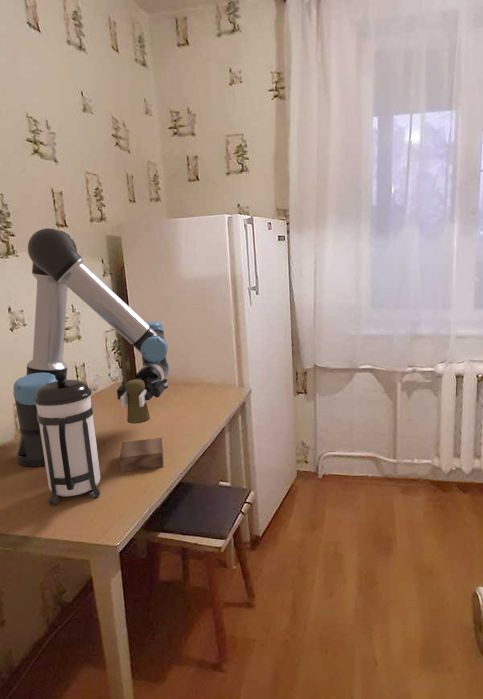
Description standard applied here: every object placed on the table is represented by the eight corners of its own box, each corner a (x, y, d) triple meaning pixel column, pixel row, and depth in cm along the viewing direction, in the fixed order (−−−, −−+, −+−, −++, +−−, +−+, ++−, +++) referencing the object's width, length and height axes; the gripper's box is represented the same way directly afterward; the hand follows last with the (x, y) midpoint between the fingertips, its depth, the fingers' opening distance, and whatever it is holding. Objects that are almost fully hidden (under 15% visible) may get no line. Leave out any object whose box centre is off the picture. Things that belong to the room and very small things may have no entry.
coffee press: (26, 499, 120) (7, 378, 114) (82, 473, 133) (67, 362, 127) (72, 518, 110) (53, 386, 104) (127, 487, 123) (113, 368, 117)
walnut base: (120, 471, 132) (119, 457, 131) (123, 455, 142) (122, 442, 142) (163, 466, 133) (161, 452, 133) (163, 450, 144) (161, 437, 143)
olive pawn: (152, 415, 138) (148, 376, 136) (146, 423, 132) (142, 383, 130) (131, 416, 139) (126, 377, 137) (124, 423, 133) (119, 383, 131)
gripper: (178, 388, 152) (166, 414, 129) (122, 392, 153) (100, 418, 130) (176, 364, 151) (163, 386, 128) (119, 368, 151) (96, 390, 128)
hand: (131, 402), depth 129 cm, fingers closed on olive pawn, 4 cm apart
